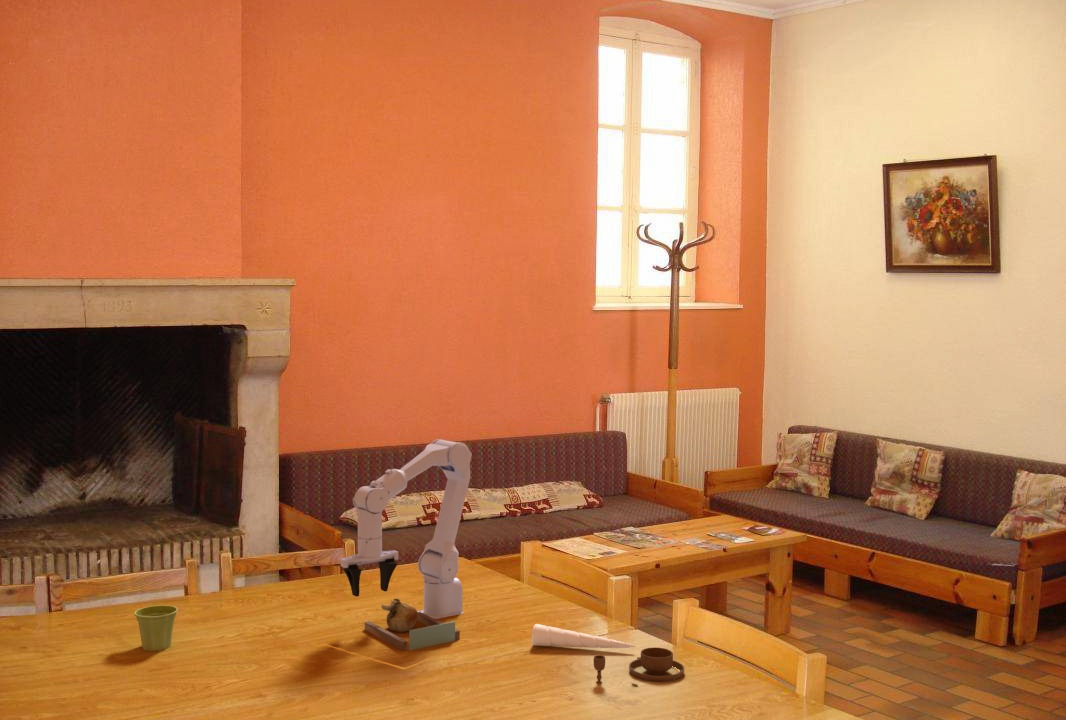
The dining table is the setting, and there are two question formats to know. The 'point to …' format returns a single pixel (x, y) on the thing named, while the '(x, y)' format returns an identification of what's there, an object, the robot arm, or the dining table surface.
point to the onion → (400, 616)
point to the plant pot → (156, 626)
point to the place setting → (647, 665)
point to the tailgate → (431, 635)
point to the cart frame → (397, 640)
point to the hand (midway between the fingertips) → (370, 592)
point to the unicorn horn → (571, 639)
